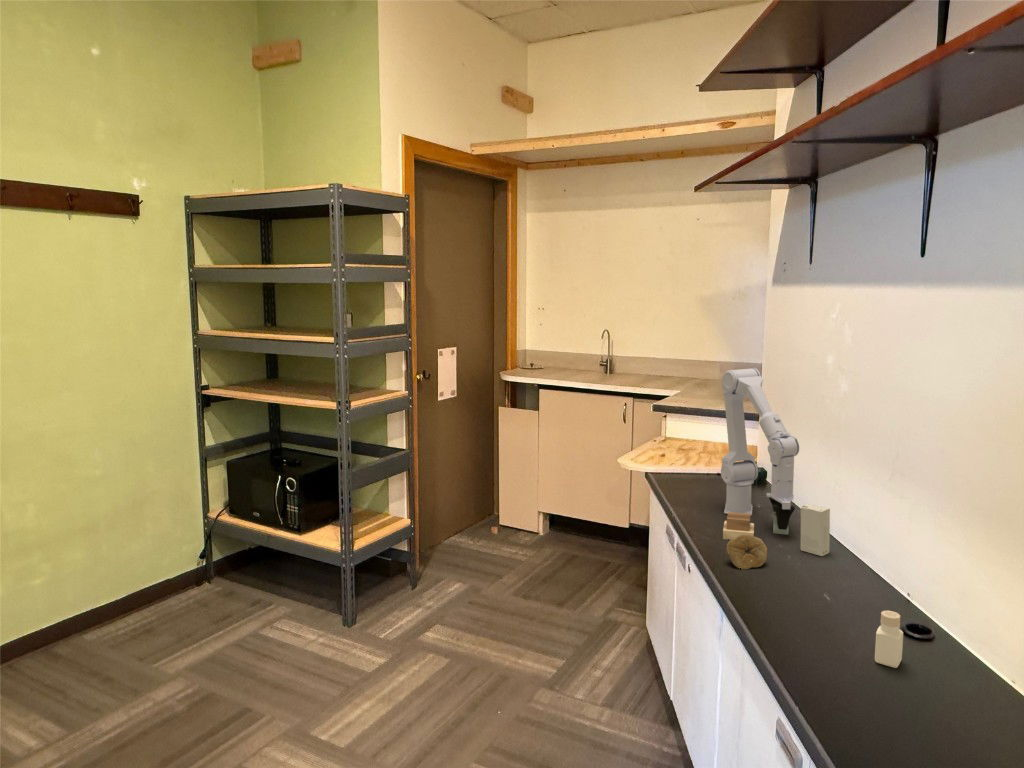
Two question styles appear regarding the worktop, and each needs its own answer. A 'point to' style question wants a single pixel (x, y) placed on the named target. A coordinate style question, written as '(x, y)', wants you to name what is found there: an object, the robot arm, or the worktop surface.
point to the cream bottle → (889, 640)
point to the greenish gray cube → (776, 529)
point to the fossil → (747, 551)
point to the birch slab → (736, 532)
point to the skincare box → (815, 529)
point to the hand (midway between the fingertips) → (780, 525)
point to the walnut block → (738, 521)
